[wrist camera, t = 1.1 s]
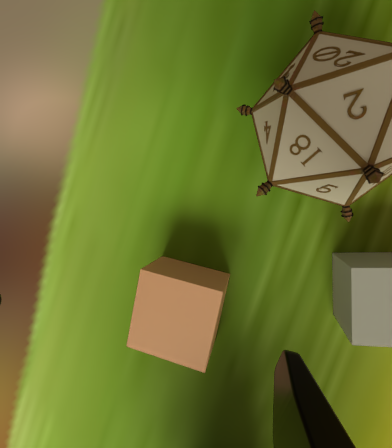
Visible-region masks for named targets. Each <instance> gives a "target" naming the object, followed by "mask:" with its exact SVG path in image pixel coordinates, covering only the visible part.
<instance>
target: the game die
mask: <svg viewBox="0 0 392 448" xmlns="http://www.w3.org/2000/svg"><path fill="white" fill-rule="evenodd" d="M322 18H323V16H320V15H319V14H318V13H317V12H316V11H314V12H313V15H312V18H311V21H309V22H310V24H311V26H312V27H311V29H312V30H313V31H314V35H313V36H312V37H311V39H310V40H309V41H308V42H307V43H306V45H305V46H304V47H303V48H302V49H301V51H300V52H299V53H298V54H297V55H296V57H295V58H294V59H293V60H292V61H291V63H290V64H289V65H288V66H287V67H286V69H285V70H284V71H283V72H282V73H281V75H280V76H279V77H278V78H277V79H275V80H274V83H273V84H272V85H271V86H270V88H269V89H268V90H267V91H266V92H265V94H264V95H263V96H262V97H261V98H260V100H259V101H258V102H257V103H256V104H255V106H254V107H253V108H251V107H250V106H246V105H242V106H240V107H238V108H236V109H237V110H238V111H239V112H240V113H241V115H246V116H247V115H249V114H251V115H252V118H253V122H254V126H255V131H256V135H257V139H258V143H259V147H260V151H261V155H262V159H263V163H264V167H265V171H266V175H267V179H268V181H267V182H265V183H262V185H261V186H258V191H257V195H256V196H260V195H267V194H266V193H267V192H268V191H270V188H271V187H272V186H275V187H278V188H282V189H285V190H289V191H292V192H296V193H299V194H303V195H306V196H309V197H313V198H316V199H320V200H323V201H327V202H330V203H334V204H337V205H341V206H342V207H343V208H342V211H341V212H342V215H341V216H342V217H344V218H345V219H346V220H347V221H348V222H349V221H350V219H351V217H352V216H353V213H352V209H351V208H350V205H351V204H352V203H354V202H355V201H356V200H358V199H359V198H361V197H362V196H363V195H365V194H366V193H368V192H369V191H370V190H372V189H373V188H374V187H376V186H377V185H379V184H380V183H381V182H383V181H384V180H386V179H387V178H388V177H390V176H391V175H392V43H390V42H384V41H378V40H372V39H366V38H360V37H354V36H348V35H342V34H336V33H330V32H323V31H322V25H323V24H324V22H322Z"/></svg>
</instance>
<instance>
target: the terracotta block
mask: <svg viewBox="0 0 392 448" xmlns="http://www.w3.org/2000/svg"><path fill="white" fill-rule="evenodd" d="M229 277H230V274H229V273H225V272H221V271H217V270H214V269H210V268H206V267H202V266H198V265H195V264H191V263H187V262H183V261H179V260H176V259H172V258H168V257H164V256H162V257H160V258H158V259H157V260H155V261H153V262H152V263H150V264H148V265H147V266H145V267H143V268H142V269H141V270H140V275H139V281H138V286H137V292H136V297H135V303H134V308H133V314H132V319H131V325H130V330H129V336H128V341H127V347H130V348H133V349H135V350H138V351H141V352H144V353H147V354H150V355H153V356H156V357H159V358H162V359H165V360H168V361H171V362H174V363H177V364H180V365H183V366H186V367H189V368H192V369H195V370H197V371H200V372H203V373H205V371H206V368H207V364H208V361H209V358H210V355H211V352H212V349H213V345H214V342H215V339H216V334H217V330H218V325H219V321H220V317H221V312H222V308H223V304H224V299H225V295H226V290H227V286H228V282H229Z"/></svg>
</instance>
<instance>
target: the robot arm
mask: <svg viewBox="0 0 392 448" xmlns="http://www.w3.org/2000/svg"><path fill="white" fill-rule="evenodd" d="M0 304H1V295H0ZM273 444H274V448H356V447H355V446H354V444H353V442H352V441H351V439H350V437H349V436H348V434H347V432H346V431H345V429H344V427H343V426H342V424H341V422H340V421H339V419H338V417H337V416H336V414H335V412H334V411H333V409H332V408H331V406H330V404H329V403H328V401H327V399H326V398H325V396H324V394H323V393H322V391H321V389H320V388H319V386H318V384H317V383H316V381H315V379H314V378H313V376H312V374H311V373H310V371H309V369H308V368H307V366H306V364H305V363H304V361H303V359H302V358H301V356H300V355H299V354H298V353H296V352H293V351H288V350H284V351H283V352H282V354H281V356H280V358H279V361H278V363H277V365H276V368H275V373H274V404H273Z"/></svg>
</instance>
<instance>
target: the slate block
mask: <svg viewBox="0 0 392 448" xmlns="http://www.w3.org/2000/svg"><path fill="white" fill-rule="evenodd" d="M332 271H333V315H334V316H335V318H336V320H337V321H338V323H339V324H340V326H341V328H342V329H343V331H344V333H345V334H346V336H347V337H348V339H349V341H350V342H351V344H352V345H361V346H379V347H392V252H359V253H332Z"/></svg>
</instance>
